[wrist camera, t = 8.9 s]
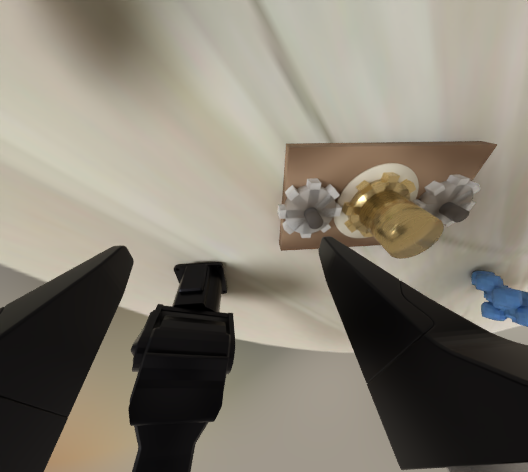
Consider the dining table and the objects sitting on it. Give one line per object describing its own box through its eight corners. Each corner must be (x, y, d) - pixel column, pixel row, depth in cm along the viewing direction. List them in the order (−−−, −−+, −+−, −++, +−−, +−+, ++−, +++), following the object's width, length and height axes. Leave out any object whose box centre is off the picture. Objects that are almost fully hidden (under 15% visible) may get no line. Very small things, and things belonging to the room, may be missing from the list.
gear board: (424, 235, 26) (453, 257, 23) (273, 243, 25) (279, 268, 21) (487, 141, 19) (544, 152, 15) (278, 143, 17) (288, 157, 14)
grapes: (435, 277, 33) (513, 352, 23) (476, 252, 30) (586, 327, 20) (463, 294, 37) (538, 362, 28) (502, 273, 34) (602, 343, 25)
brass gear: (391, 230, 23) (430, 266, 18) (335, 233, 22) (359, 271, 18) (422, 171, 18) (485, 198, 14) (353, 173, 18) (392, 202, 13)
